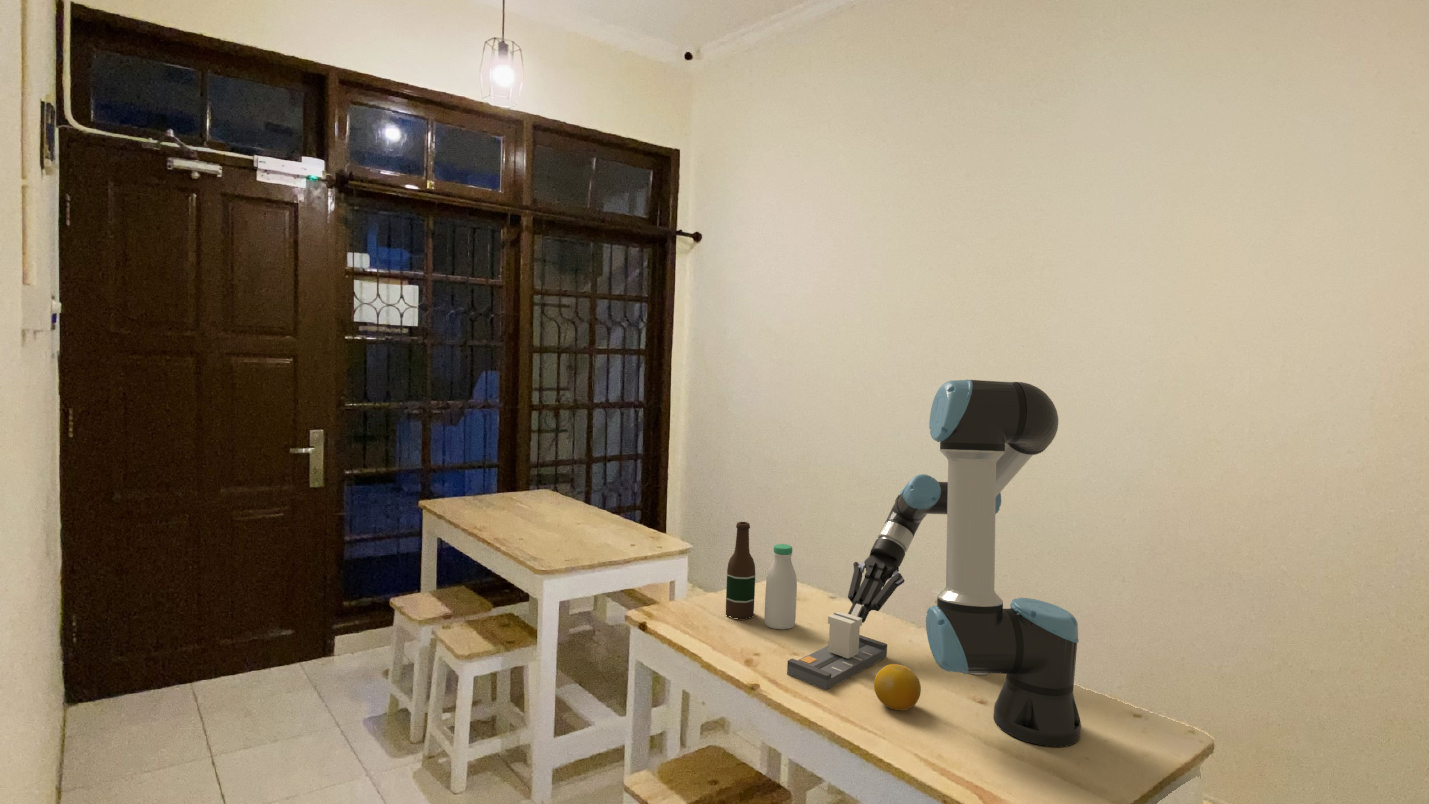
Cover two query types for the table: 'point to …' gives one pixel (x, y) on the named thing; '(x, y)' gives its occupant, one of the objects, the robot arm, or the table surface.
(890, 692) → the fruit
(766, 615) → the milk bottle
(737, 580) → the beer bottle
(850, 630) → the fader knob
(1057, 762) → the table surface
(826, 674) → the slider console
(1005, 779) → the table surface
